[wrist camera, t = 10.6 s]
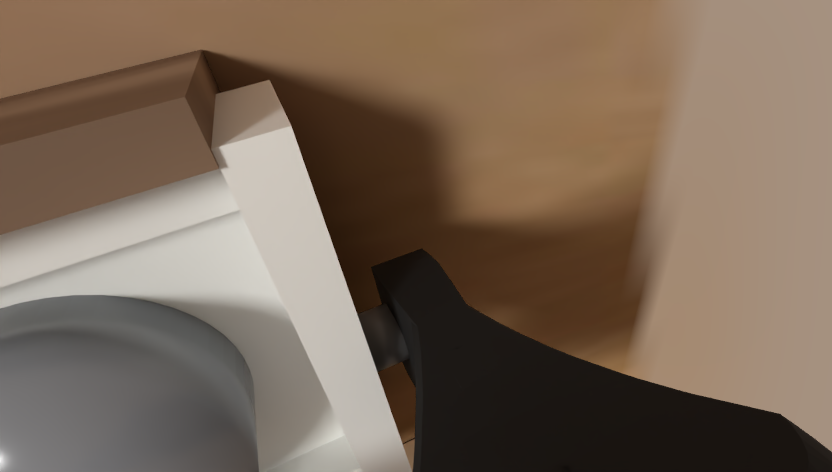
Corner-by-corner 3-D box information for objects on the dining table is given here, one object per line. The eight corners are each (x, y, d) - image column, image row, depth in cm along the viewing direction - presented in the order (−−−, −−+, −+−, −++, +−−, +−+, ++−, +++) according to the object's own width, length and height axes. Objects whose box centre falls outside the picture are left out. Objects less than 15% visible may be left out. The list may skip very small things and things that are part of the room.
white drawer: (413, 408, 13) (457, 506, 10) (46, 577, 11) (-5, 748, 8) (312, 68, 8) (353, 106, 5) (-454, 272, 5) (-995, 501, 3)
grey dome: (37, 548, 9) (-4, 668, 8) (-225, 384, 6) (-383, 525, 5) (291, 434, 10) (302, 518, 9) (176, 247, 7) (160, 321, 6)
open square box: (358, 419, 14) (400, 555, 10) (35, 565, 12) (-38, 787, 8) (201, 49, 8) (185, 97, 4) (-516, 225, 6) (-1499, 542, 2)
